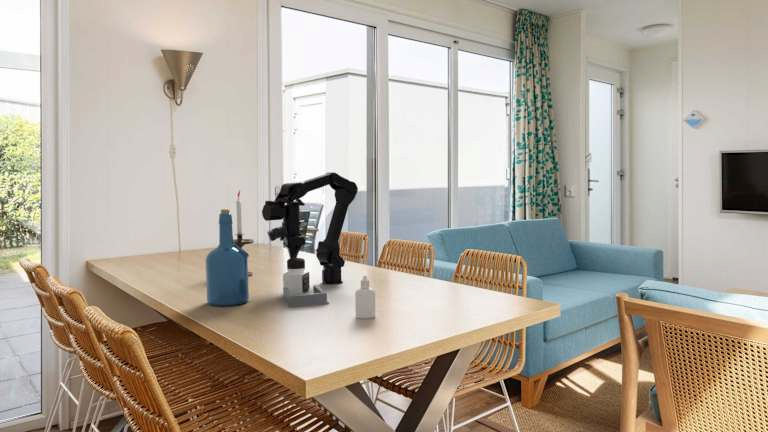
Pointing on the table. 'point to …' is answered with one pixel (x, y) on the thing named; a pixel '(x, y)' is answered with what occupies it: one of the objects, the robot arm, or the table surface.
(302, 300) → the u rest
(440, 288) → the table surface
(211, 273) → the wine bottle
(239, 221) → the candlestick
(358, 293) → the eye dropper bottle
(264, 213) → the robot arm
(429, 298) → the table surface
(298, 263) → the medicine bottle
